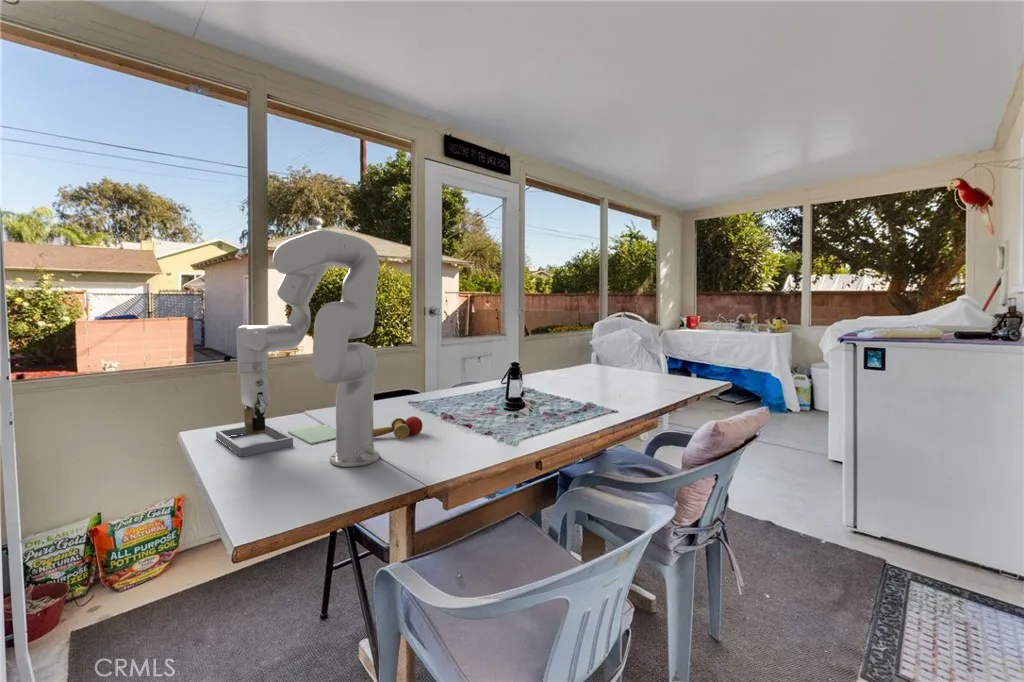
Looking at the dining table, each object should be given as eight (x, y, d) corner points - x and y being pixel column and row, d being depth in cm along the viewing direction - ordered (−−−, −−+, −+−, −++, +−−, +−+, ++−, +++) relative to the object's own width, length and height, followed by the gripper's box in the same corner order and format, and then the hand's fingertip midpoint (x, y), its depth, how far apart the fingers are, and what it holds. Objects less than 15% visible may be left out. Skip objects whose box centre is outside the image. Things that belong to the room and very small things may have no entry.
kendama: (368, 448, 135) (426, 434, 142) (364, 427, 135) (423, 414, 142) (365, 445, 142) (421, 431, 149) (362, 425, 142) (418, 413, 149)
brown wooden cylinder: (268, 431, 132) (267, 408, 132) (248, 435, 128) (247, 411, 128) (261, 428, 136) (260, 405, 135) (242, 431, 132) (241, 408, 131)
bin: (293, 446, 130) (292, 437, 130) (240, 457, 120) (240, 448, 120) (264, 430, 145) (264, 422, 144) (216, 439, 134) (216, 431, 134)
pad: (348, 436, 141) (348, 434, 141) (310, 444, 132) (310, 442, 132) (325, 425, 152) (325, 424, 151) (288, 433, 143) (288, 431, 143)
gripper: (278, 369, 128) (280, 431, 129) (256, 363, 139) (258, 421, 140) (249, 372, 122) (251, 437, 123) (228, 366, 133) (231, 426, 135)
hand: (255, 428), depth 132 cm, fingers closed on brown wooden cylinder, 5 cm apart
